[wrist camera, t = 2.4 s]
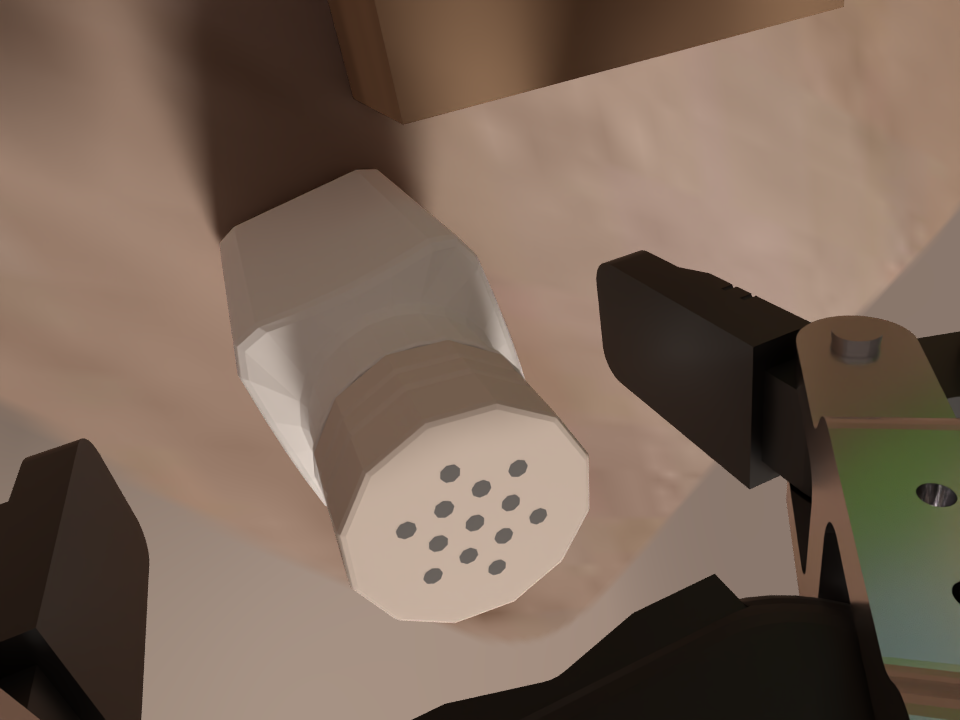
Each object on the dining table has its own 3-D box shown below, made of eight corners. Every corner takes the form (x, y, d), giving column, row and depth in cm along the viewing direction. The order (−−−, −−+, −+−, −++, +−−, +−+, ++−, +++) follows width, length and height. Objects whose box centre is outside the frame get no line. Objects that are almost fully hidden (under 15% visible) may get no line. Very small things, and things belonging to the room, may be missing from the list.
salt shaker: (206, 231, 15) (229, 490, 7) (374, 153, 15) (578, 306, 7) (293, 375, 17) (390, 700, 9) (439, 302, 17) (651, 546, 9)
